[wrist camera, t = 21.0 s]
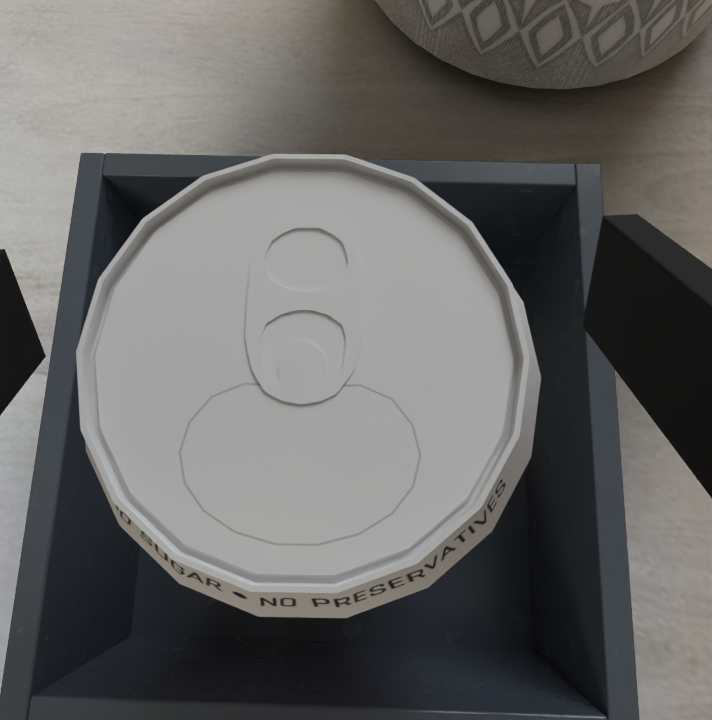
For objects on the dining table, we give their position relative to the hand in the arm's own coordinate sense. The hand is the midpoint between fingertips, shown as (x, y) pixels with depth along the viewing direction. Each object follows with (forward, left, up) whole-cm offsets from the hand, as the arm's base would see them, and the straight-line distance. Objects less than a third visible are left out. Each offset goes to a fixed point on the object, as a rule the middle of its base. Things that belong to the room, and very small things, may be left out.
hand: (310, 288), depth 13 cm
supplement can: (0, -2, -11) cm, 12 cm away
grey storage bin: (0, -2, -12) cm, 12 cm away
